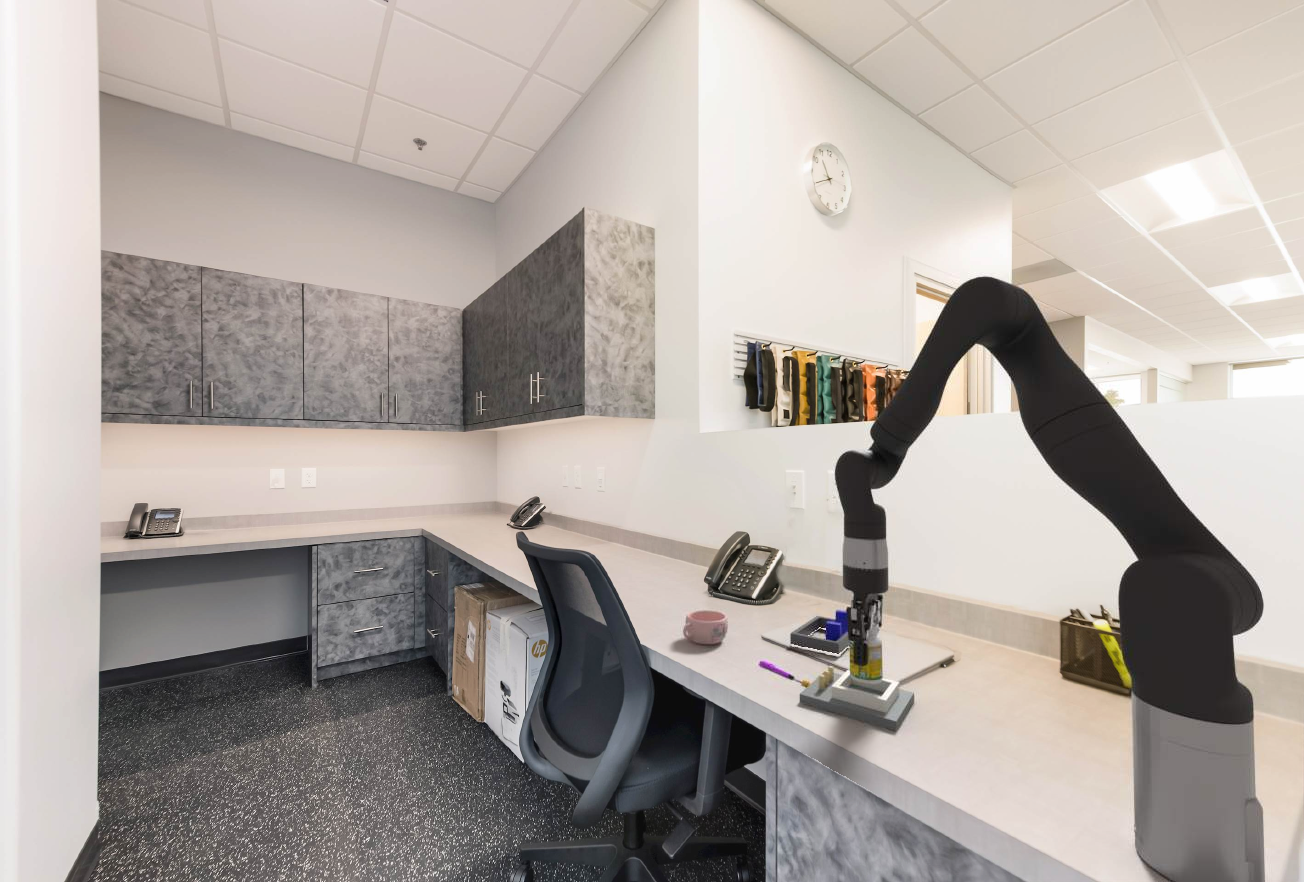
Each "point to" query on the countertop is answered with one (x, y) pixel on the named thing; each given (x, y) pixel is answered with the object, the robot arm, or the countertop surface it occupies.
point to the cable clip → (837, 626)
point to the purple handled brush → (782, 672)
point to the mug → (706, 626)
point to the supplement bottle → (874, 667)
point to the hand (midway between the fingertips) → (865, 658)
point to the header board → (859, 698)
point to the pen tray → (804, 640)
